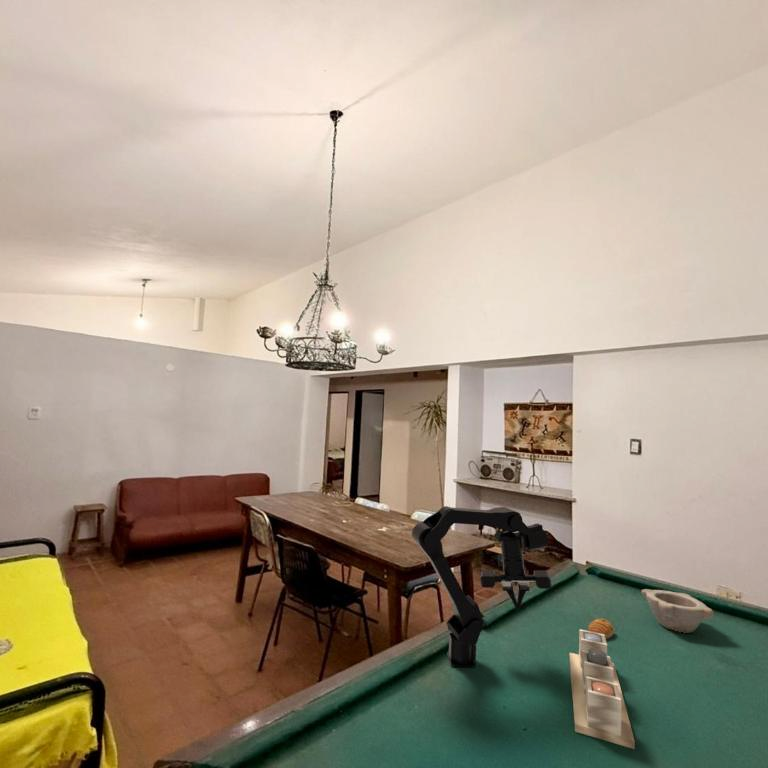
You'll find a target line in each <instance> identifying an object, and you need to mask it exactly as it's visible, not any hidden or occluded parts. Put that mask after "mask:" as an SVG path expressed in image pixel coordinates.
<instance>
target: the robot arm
mask: <svg viewBox="0 0 768 768" xmlns="http://www.w3.org/2000/svg"><path fill="white" fill-rule="evenodd" d="M454 524H460V525H461V524H462V525H471V526H472V525H475V526H490V527H494V528H497V531H496V532H495V533H494V534H493V535H492V538H493V539H494V540H496V541H498V542H500V549H501V554H497V566H498V567H503V569H502V571H503V574H496V573H495V571H496V570H494V569H482V570H481V572H480V586H481V587H482V588H485V589H486V588H489V589H491V588H494V587H495V586H496V583H501V585H502V586H501V588H502V589H501V590H502V591H504V592H507V594H508V597H509V598H510V599H511V601H512V604H513V606H514V607H515V610H516V611H520V609H521V606H522V603H523V599H524V597H525V595H526V593H527V592H530V591H531V590H530V583H535V586H536V587H537V588H538V589H542V590H543V589H544V590H545V589H546V590H547V589H548V590H549V589H551V588H552V580H551V578H550V575H549V572H548V571H547V570H533V574H525V573H526V571H525V563H524V555H523V553H524V552H523V549H524V550H525V551H526V552H531V551H537V550H541V549H546V548H548V546H549V537H548V536H547V533H546V531H545V530H544V529H543V525H542V524H540V523H534V524H532V525H531V524H530V525H526V523H525V522H524V521H523V517H522V515H521V513H520V512H519V511H516V510H513V509H512V508H510V507H506V506H500V507H494V508H491V509H478V508H477V509H476V508H475V509H474V508H464V507H463V508H461V507H451V506H447V505H445V506H442V507H441V508H440V509H439V510H437V511H436V512H435V513H433V514H432V515H430V516H427V517H426V518H425V519H424V520H423V521H421V522H419V523H417V524H415V525H414V527H413V528H412V532H411V537H412V539H413V541H414V542H415V543H416V544H417V546H418V547H419V548H420V550H421V551H422V552H423V553H424V554H425V556H427V559H429V562H430V563H431V566H432V567H433V569H434V572H436V574H437V577H438V579H439V580H440V582H441V585H442V586H443V588H444V591H445V592H446V594H447V595H448V598H449V600H450V602H451V609H452V612H453V614H452V615H451V616H450V618H449V619H448V620H447V621H446V626H447V630H448V631H449V633H448V635H449V638H448V651H446V652H447V653H446V654H447V656H448V657H447V658H448V660H449V664H450V666H451V667H455V666H464V667H463V668H476V663H475V662H476V660H477V643H478V642H479V637H480V634H481V632H483V631H482V630H483V629H484V626H485V621H484V618H485V615H484V614H483V613H482V611H481V610H480V607H479V604H478V603H477V602H476V601H475V600H474V599H473V598H472V597H471V596H470V595H469V594H467V595H465V593H464V590H463V589H462V587H461V585H460V583H459V581H458V580H457V578H456V577H457V576H455V574H454V572H453V570H452V568H451V566H450V564H449V562H448V561H447V558H446V557H445V554H444V548H443V543H442V539H443V538H445V536H446V535H447V534H448V532H449V530H450V529H451V528H452V526H453V525H454ZM501 530H503V531H501ZM514 583H517V595H516V593H515V592H516V591H515V588H514ZM465 666H466V667H465Z"/></svg>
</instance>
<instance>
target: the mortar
mask: <svg viewBox="0 0 768 768" xmlns="http://www.w3.org/2000/svg"><path fill="white" fill-rule="evenodd" d="M641 594H642V597H643V599H644V601H646V602H647V604H648V606H649V607H650V610H651V612H652V614H653V616H654V617H655V619H656V621H657V622H658V623H659V625H661V626H662V627H664V628H666V629H668V630H670V629H671V631H673V630H674V632H677V631H678V632H677V633H681V632H683V633H682V634H689V633H693V632H695V631H696V629H697V628H698V627H699V626H700V625H701V623H702V622H703V621H709V620H710V619H712V618H713V617H714V611H713V609H712V608H710V607H708V606H707V605H706V604H705V603H703V602H702V601H700V600H698V599H696V598H695V597H692V596H691V595H690V594H688V593H684V592H675V591H674V592H673V591H671V590H670V591H669V590H662V589H648V588H644V589H641Z"/></svg>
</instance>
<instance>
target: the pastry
mask: <svg viewBox="0 0 768 768" xmlns="http://www.w3.org/2000/svg"><path fill="white" fill-rule="evenodd" d="M587 629H588V630H587V631H591V632H595V633H600V634H604V635H605V639H606V640H608V639H609V638H611V637H612V636H613V635H614V633H615V632H616V630H615V628H614V627H613V626H612V623H611V622H610V621H609V620H607V619H605V618H597V619H594V620H592V621H591V622H590V623H589V625H588V628H587Z"/></svg>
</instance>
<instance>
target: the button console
mask: <svg viewBox="0 0 768 768" xmlns="http://www.w3.org/2000/svg"><path fill="white" fill-rule="evenodd" d="M578 632H579V633H578V637H579V640H578V643H579V644H578V645H579V646H578V653H574V652H569V668H570V680H571V684H570V685H571V695H572V706H573V719H574V731H575V733H579V734H582V735H585V736H589V737H593V738H595V739H600V740H602V741H606V742H609V743H612V744H616V745H619V746H623V747H625V748H629V749H633V750H635V749H636V747H635V745H636V744H635V743H636V741H635V737H634V734H633V730H632V727H631V722H630V719H629V714H628V711H627V706H626V704H625V700H624V696H623V692H622V688H621V685H620V681H619V677H618V673H617V670H616V666H615V663H614V662H612V659H611V656H609V655H608V643H607V639H605V635H604V634H600V633H595V632H591V631H588V630H585V629H579V631H578ZM588 633H589V634H594V635H597V636H599V637H600V638H601V642H596V641H592V640H587V639H585V634H588ZM589 649H598V650H601V651H603V652H604V653H606V655H607V666H603V665H599V664H594V663H590V662H588V650H589ZM595 682H600V683H604V684H606V685H608V686H610V687H611V688H612V689H613V696H611V695H607V694H603V693H599V692H595V691H593V683H595Z"/></svg>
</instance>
